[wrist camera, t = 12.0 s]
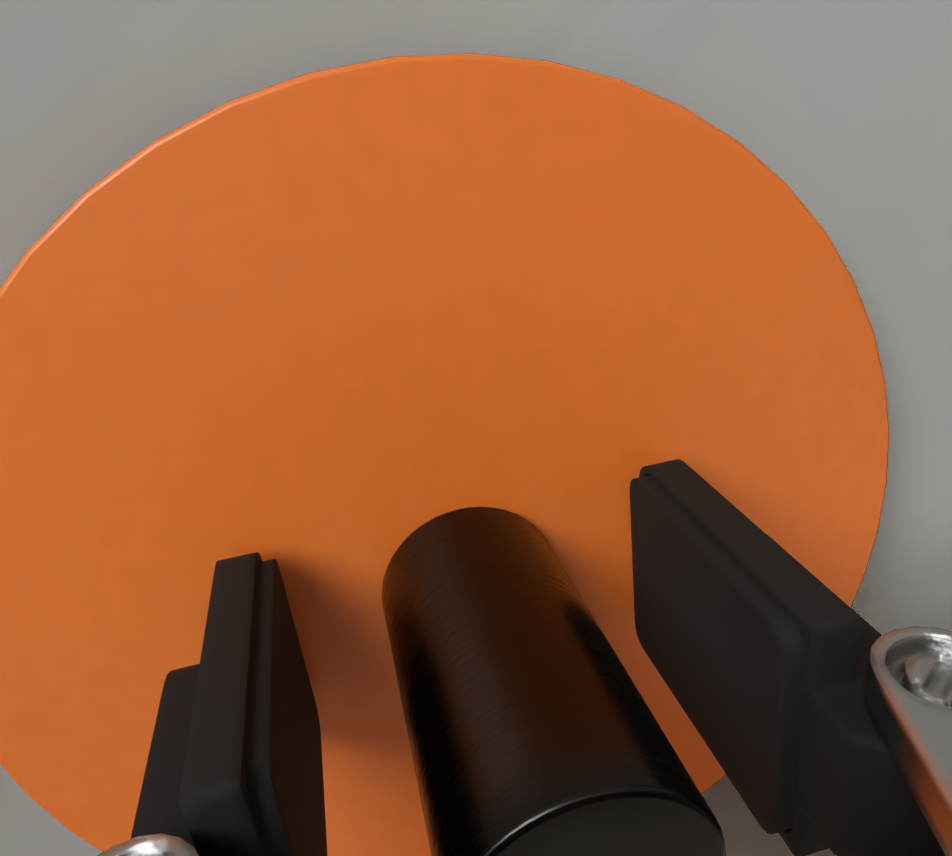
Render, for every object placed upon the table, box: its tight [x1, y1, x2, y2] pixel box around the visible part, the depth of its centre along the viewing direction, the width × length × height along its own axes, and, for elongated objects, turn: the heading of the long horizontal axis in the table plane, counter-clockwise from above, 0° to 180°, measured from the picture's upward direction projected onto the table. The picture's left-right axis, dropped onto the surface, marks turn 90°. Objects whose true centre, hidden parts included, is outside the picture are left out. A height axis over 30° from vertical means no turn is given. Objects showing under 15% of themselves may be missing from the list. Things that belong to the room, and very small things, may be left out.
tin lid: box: [0, 53, 889, 856], centre depth 9 cm, size 14×14×6 cm
